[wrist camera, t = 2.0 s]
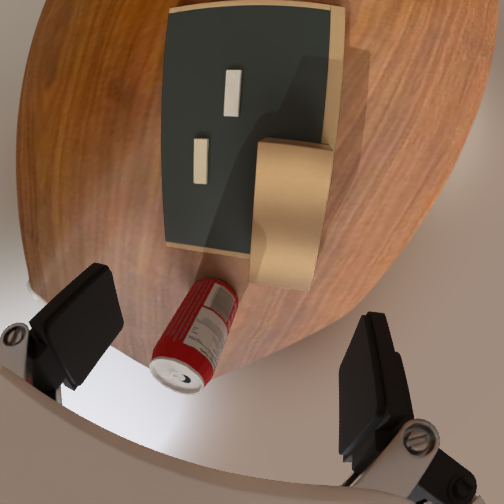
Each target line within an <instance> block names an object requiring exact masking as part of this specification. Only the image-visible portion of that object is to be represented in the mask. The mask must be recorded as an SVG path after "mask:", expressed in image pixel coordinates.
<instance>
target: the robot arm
mask: <svg viewBox="0 0 504 504" xmlns="http://www.w3.org/2000/svg"><path fill="white" fill-rule="evenodd" d="M29 323H30V325H31V327H32V329H31V330H29V329H28V327H27V325H25V324H24V323H15V324H12V325H10V326H8V327H7V328H6V329H5V330H4V331H3V333H2V335H1V337H0V504H485V503H484V501H483V499H482V498H481V496H477V497H476V495H475V493H476V489H477V484H476V479H475V477H474V475H473V474H472V473H471V472H470V471H468V470H467V469H466V468H464V467H463V466H461V465H460V464H459V463H458V462H456V461H455V460H454V459H452V458H451V457H450V456H448V455H447V454H446V453H444V452H443V451H442V450H441V449H439V445H440V436H439V433H438V431H437V429H436V428H435V426H434V425H432V424H431V423H430V422H428V421H426V420H423V419H414V415H413V410H412V404H411V399H410V394H409V389H408V384H407V380H406V375H405V371H404V367H403V363H402V359H401V356H400V354H399V353H398V352H395V350H394V346H393V342H392V338H391V335H390V331H389V327H388V323H387V320H386V316H385V314H384V313H378V312H368V313H367V314H366V315H362V316H361V318H360V320H359V323H358V326H357V328H356V330H355V333H354V335H353V338H352V340H351V343H350V345H349V347H348V349H347V352H346V354H345V356H344V359H343V361H342V363H341V365H340V369H339V454H340V455H343V462H352V470H353V473H352V474H351V475H350V476H349V477H348V478H347V479H346V480H345V481H344V482H343V483H342V484H341V485H340V486H327V485H311V484H300V483H290V482H282V481H274V480H267V479H261V478H254V477H249V476H243V475H238V474H233V473H229V472H224V471H220V470H216V469H212V468H208V467H204V466H200V465H197V464H194V463H190V462H187V461H184V460H181V459H177V458H174V457H171V456H168V455H165V454H163V453H160V452H157V451H154V450H152V449H149V448H147V447H144V446H141V445H139V444H137V443H134V442H132V441H129V440H127V439H125V438H123V437H120V436H118V435H116V434H114V433H112V432H110V431H108V430H106V429H104V428H102V427H100V426H98V425H96V424H94V423H92V422H90V421H88V420H87V419H85V418H83V417H81V416H79V415H78V414H76V413H74V412H72V411H71V410H69V409H67V408H66V407H64V406H62V398H61V386H60V385H61V384H62V382H63V383H64V385H65V386H67V387H68V388H70V389H72V390H75V389H76V388H77V386H79V385H81V384H82V383H83V382H84V380H85V379H86V377H87V376H88V374H89V373H90V372H91V370H92V369H93V367H94V366H95V365H96V363H97V362H98V361H99V359H100V358H101V356H102V355H103V354H104V352H105V351H106V350H107V348H108V347H109V346H110V344H111V343H112V342H113V340H114V339H115V338H116V336H117V335H118V334H119V332H120V331H121V330H122V328H123V324H124V321H123V317H122V313H121V310H120V306H119V302H118V298H117V294H116V289H115V285H114V281H113V276H112V272H111V271H110V270H109V267H108V266H107V265H103V264H99V263H93V264H92V265H90V266H89V267H88V268H87V269H86V270H85V271H83V272H82V273H81V274H80V275H79V276H78V277H76V278H75V279H74V280H73V281H72V282H71V283H70V284H69V285H67V286H66V287H65V288H64V289H63V290H62V291H61V292H60V293H59V294H57V295H56V296H55V297H54V298H53V299H52V300H51V301H50V302H49V303H48V304H47V305H46V306H45V307H44V308H43V309H42V310H41V311H40V312H38V313H37V314H36V316H34V317H33V318H32V319H31V320H30V321H29Z"/></svg>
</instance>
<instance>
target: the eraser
mask: <svg viewBox="0 0 504 504" xmlns="http://www.w3.org/2000/svg"><path fill="white" fill-rule="evenodd" d="M334 153H335V152H334V150H333V149H332V147H331V146H330V145H329V144H325V143H318V142H311V141H304V140H296V139H287V138H278V137H266V138H264V139H262V140H260V141H259V142H258V148H257V163H256V177H255V191H254V206H253V220H252V235H251V250H250V264H249V279H248V282H249V283H254V284H261V285H267V286H273V287H280V288H287V289H293V290H300V291H307V292H310V290H311V285H312V281H313V276H314V271H315V266H316V261H317V256H318V251H319V246H320V241H321V235H322V230H323V224H324V219H325V213H326V207H327V201H328V195H329V188H330V182H331V175H332V168H333V161H334Z"/></svg>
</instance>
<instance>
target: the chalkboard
mask: <svg viewBox="0 0 504 504" xmlns="http://www.w3.org/2000/svg"><path fill="white" fill-rule="evenodd" d="M344 42H345V7H341V6H334V5H328V4H321V3H312V2H302V1H288V0H234V1H220V2H209V3H201V4H193V5H186V6H180V7H175V8H170V9H169V16H168V24H167V33H166V43H165V55H164V68H163V86H162V115H161V161H162V191H163V210H164V225H165V238H166V246H167V247H174V248H180V249H186V250H193V251H199V252H206V253H212V254H219V255H225V256H232V257H238V258H245V259H250V250H251V235H252V220H253V206H254V191H255V177H256V163H257V148H258V142H259V141H260V140H262V139H264V138H266V137H278V138H287V139H296V140H304V141H311V142H318V143H325V144H329V145H330V146H331V147H332V149H333V150H334V152H335V146H336V138H337V129H338V120H339V110H340V100H341V89H342V76H343V61H344ZM226 70H242V77H241V92H240V107H239V116H238V117H237V116H224V99H225V82H226ZM195 138H206V139H209V143H208V183H207V184H197V183H194V139H195ZM334 154H335V153H334ZM329 189H330V188H329ZM323 225H324V224H323ZM321 236H322V235H321ZM317 257H318V256H317ZM316 262H317V261H316Z"/></svg>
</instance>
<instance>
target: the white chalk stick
mask: <svg viewBox="0 0 504 504" xmlns="http://www.w3.org/2000/svg"><path fill="white" fill-rule="evenodd" d="M241 77H242V70H226V82H225V99H224V116H237V117H238V116H239V107H240V92H241Z"/></svg>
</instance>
